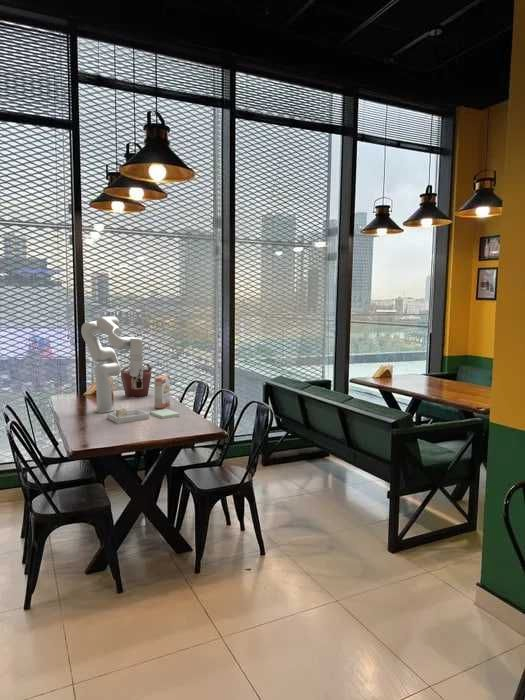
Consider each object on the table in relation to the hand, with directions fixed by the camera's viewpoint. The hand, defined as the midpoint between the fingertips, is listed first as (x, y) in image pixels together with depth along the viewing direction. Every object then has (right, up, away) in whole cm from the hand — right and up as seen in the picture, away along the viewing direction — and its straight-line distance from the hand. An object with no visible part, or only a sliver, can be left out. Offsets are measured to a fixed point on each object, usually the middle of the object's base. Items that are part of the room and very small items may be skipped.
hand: (137, 386), depth 306 cm
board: (+15, -19, +9) cm, 26 cm away
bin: (-5, -20, -1) cm, 20 cm away
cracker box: (+9, -16, +34) cm, 39 cm away
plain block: (-8, -20, -4) cm, 22 cm away
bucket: (-18, -12, +72) cm, 75 cm away
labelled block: (0, -1, 0) cm, 1 cm away
